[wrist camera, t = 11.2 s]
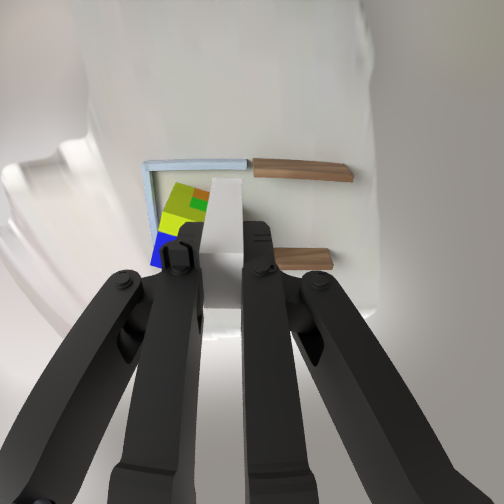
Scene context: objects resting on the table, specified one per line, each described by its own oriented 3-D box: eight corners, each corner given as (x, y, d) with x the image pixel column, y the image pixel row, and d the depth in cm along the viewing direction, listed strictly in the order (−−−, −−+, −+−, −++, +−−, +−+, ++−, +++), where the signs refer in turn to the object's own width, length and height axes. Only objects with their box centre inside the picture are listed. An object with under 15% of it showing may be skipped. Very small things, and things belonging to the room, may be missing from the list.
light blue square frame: (143, 161, 44) (141, 164, 43) (246, 159, 45) (246, 162, 44) (156, 251, 55) (155, 255, 54) (243, 251, 56) (243, 256, 55)
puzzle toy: (162, 230, 52) (150, 265, 44) (175, 182, 47) (162, 211, 39) (214, 245, 55) (210, 282, 47) (232, 199, 49) (231, 232, 41)
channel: (252, 158, 45) (254, 169, 41) (343, 163, 46) (353, 175, 42) (248, 252, 56) (249, 269, 52) (326, 253, 57) (332, 269, 53)
